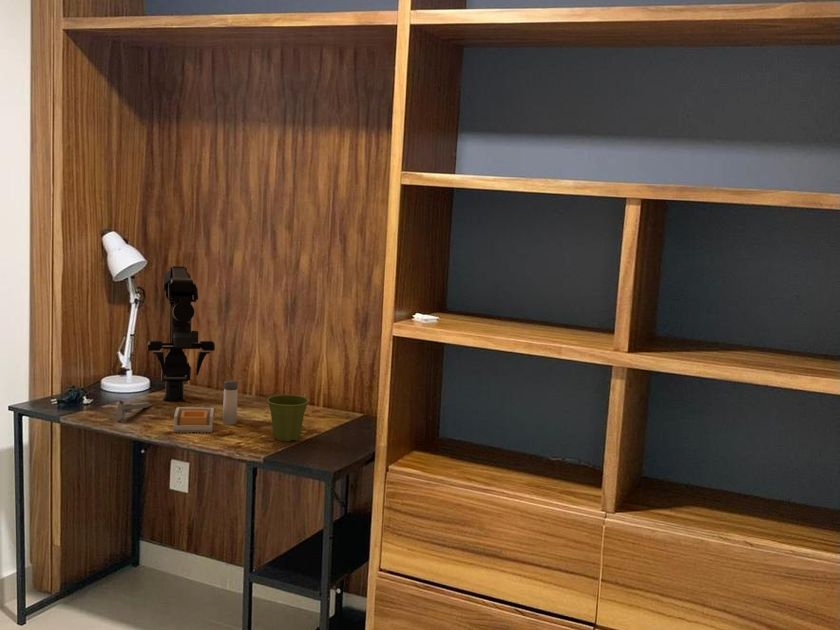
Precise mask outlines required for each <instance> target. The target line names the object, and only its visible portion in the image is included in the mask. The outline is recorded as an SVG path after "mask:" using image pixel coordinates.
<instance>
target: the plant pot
mask: <svg viewBox="0 0 840 630" xmlns="http://www.w3.org/2000/svg"><path fill="white" fill-rule="evenodd" d="M266 402H267V403H268V408H269V411H270V418H271V425H272V432H273V438H274V439H276V440H277V441H280V442H291V441H297V440H299V439H300V436H301V431H302V426H303V421H304V418H305V417H304V416H305V412H306V410H307V407H308V406H307V405H308V403H309V402H310V399H309V398H308V397H305V396H303V395H297V394H277V395H276V394H275V395H272V396H269V397H268V398H267V399H266Z"/></svg>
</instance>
